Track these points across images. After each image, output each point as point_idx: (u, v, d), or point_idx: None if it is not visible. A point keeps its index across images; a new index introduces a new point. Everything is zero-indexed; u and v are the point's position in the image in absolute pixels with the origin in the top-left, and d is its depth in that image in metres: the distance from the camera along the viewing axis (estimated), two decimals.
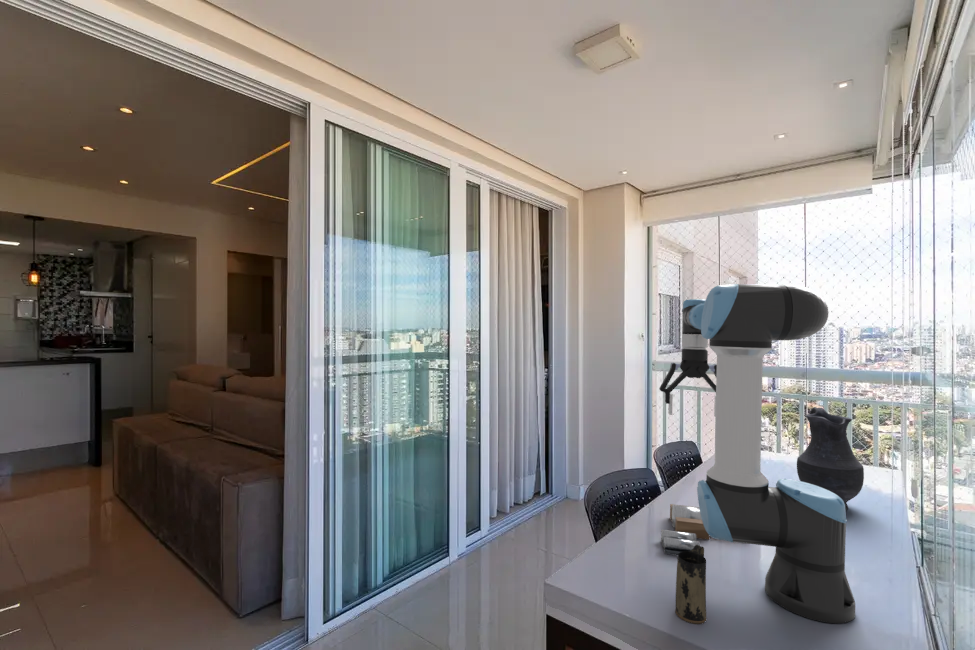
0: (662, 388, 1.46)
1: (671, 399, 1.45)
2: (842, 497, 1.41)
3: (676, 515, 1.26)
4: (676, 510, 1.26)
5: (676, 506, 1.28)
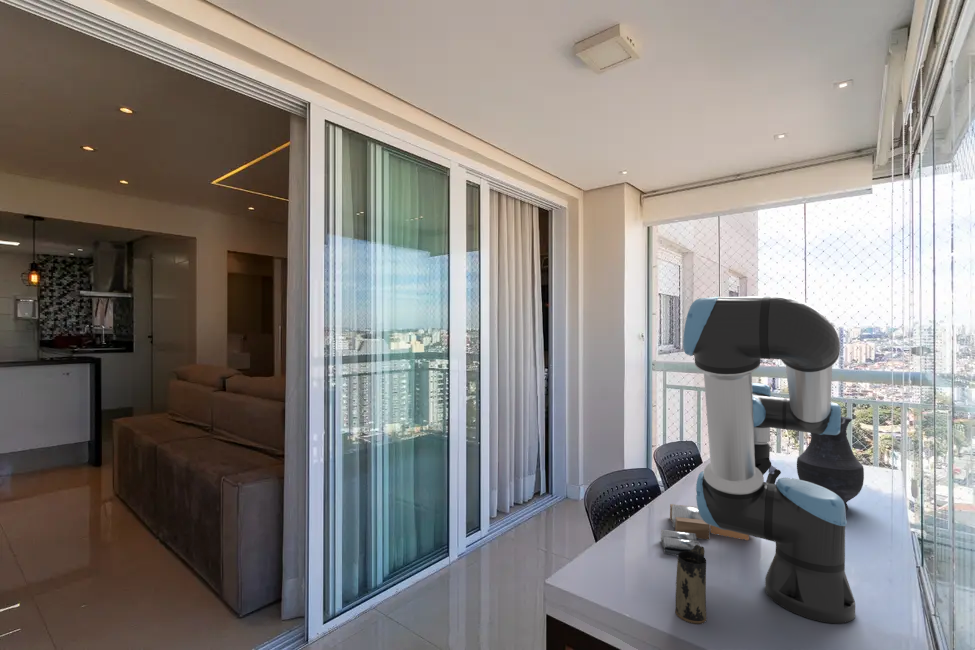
0: None
1: None
2: (842, 497, 1.41)
3: (676, 516, 1.25)
4: (676, 510, 1.26)
5: (676, 506, 1.27)
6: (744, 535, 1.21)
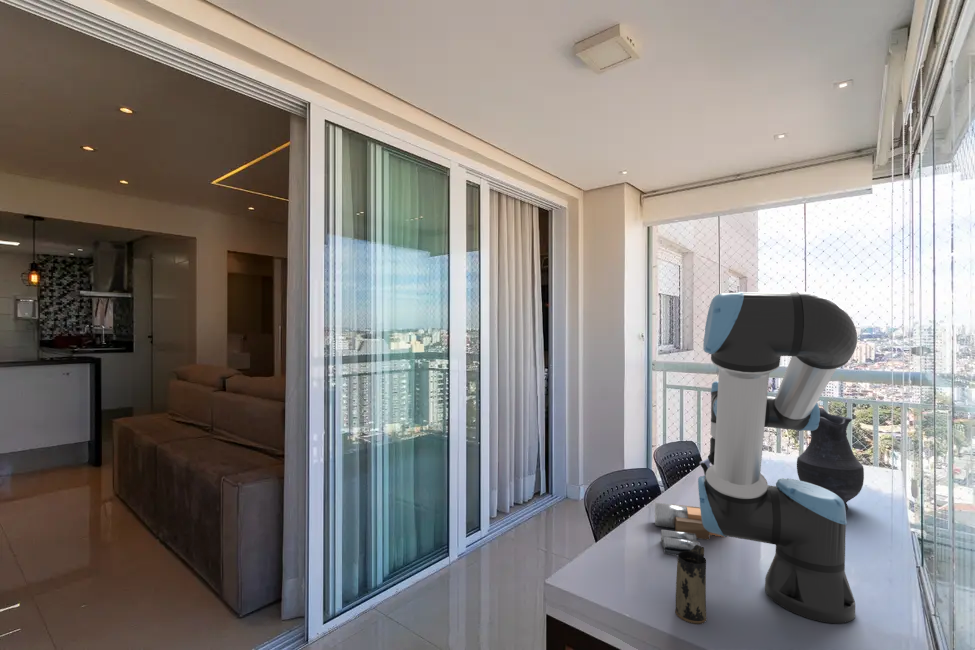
0: None
1: None
2: (842, 497, 1.41)
3: (658, 515, 1.26)
4: (658, 510, 1.27)
5: (658, 505, 1.28)
6: None
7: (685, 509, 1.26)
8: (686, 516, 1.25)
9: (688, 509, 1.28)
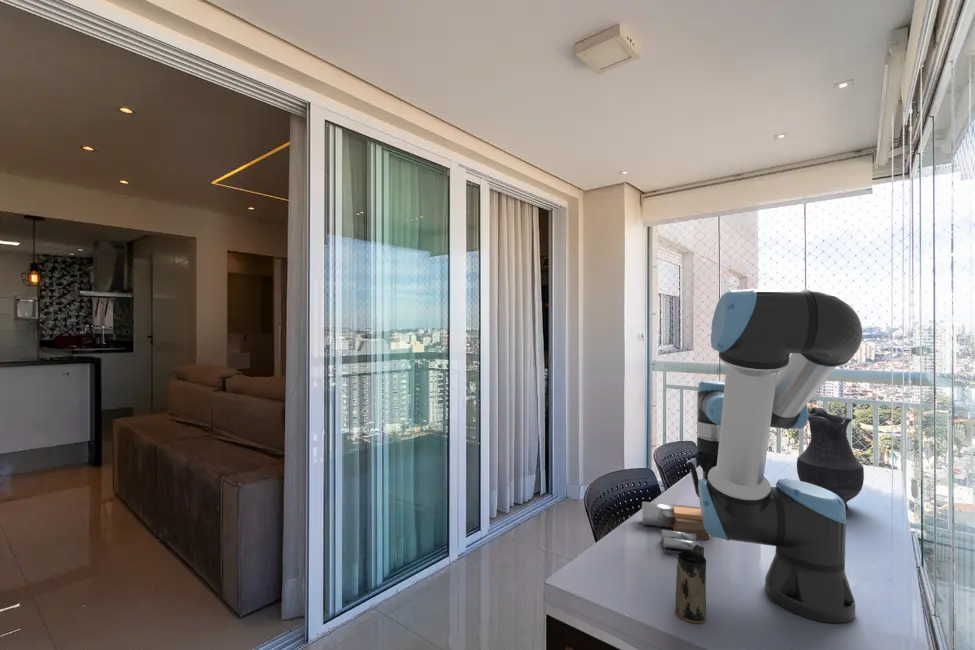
0: (699, 494, 1.26)
1: None
2: (842, 497, 1.41)
3: (645, 514, 1.27)
4: (645, 509, 1.27)
5: (645, 504, 1.29)
6: None
7: (672, 508, 1.27)
8: (673, 515, 1.25)
9: (675, 508, 1.28)
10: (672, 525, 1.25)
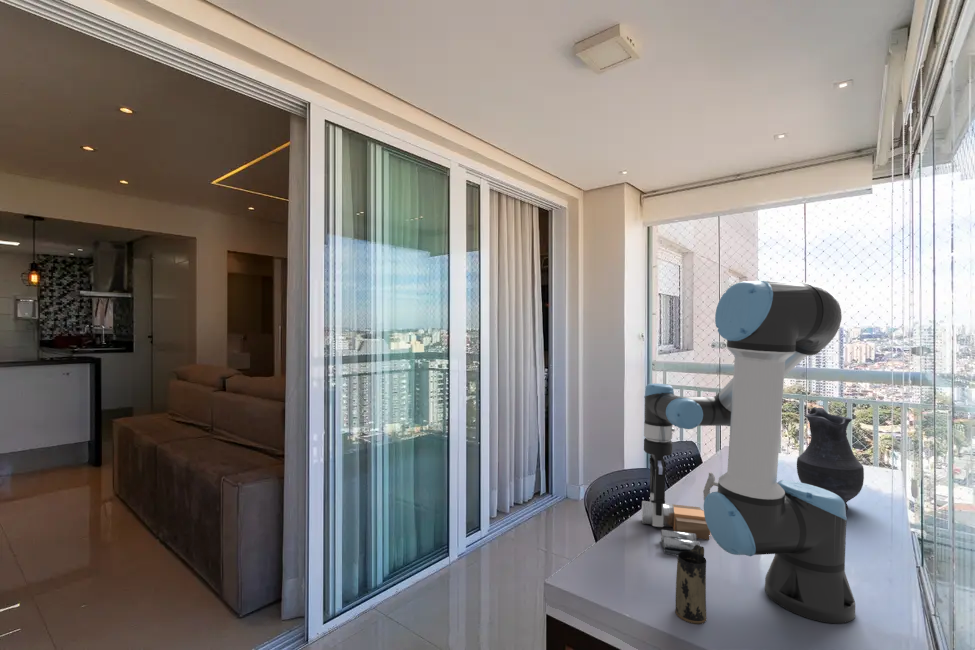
0: None
1: (650, 499, 1.33)
2: (842, 497, 1.41)
3: (644, 512, 1.28)
4: (645, 507, 1.28)
5: (645, 503, 1.30)
6: None
7: (671, 506, 1.28)
8: (672, 512, 1.26)
9: (675, 509, 1.28)
10: (672, 523, 1.26)
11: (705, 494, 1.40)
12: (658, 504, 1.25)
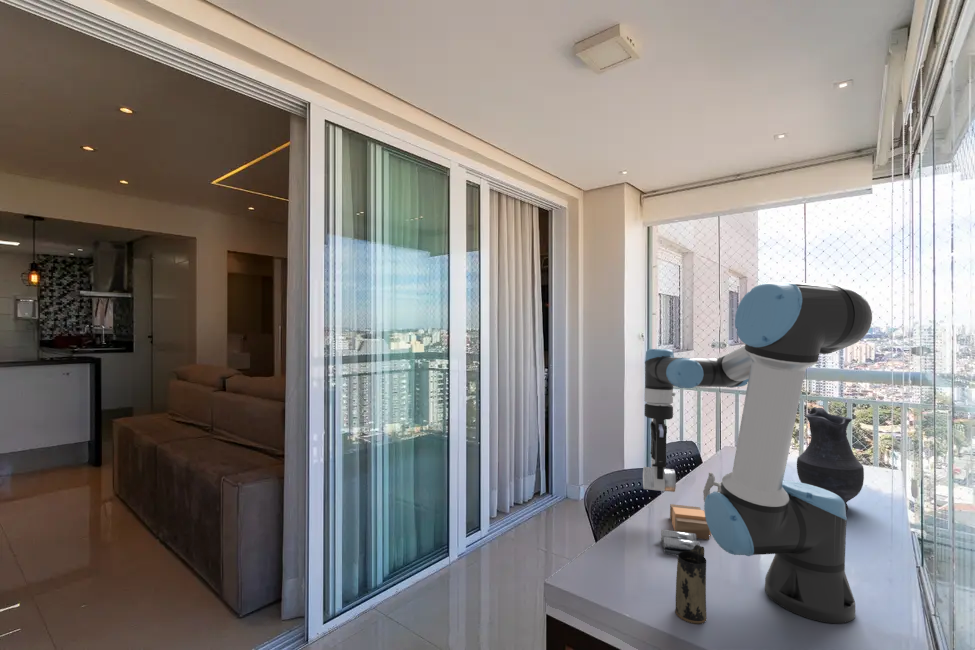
0: (651, 451, 1.35)
1: (651, 465, 1.33)
2: (842, 497, 1.41)
3: (646, 476, 1.27)
4: (646, 472, 1.28)
5: (646, 468, 1.29)
6: None
7: (672, 471, 1.27)
8: (674, 477, 1.26)
9: (675, 509, 1.28)
10: (673, 487, 1.25)
11: (705, 494, 1.40)
12: (659, 467, 1.24)
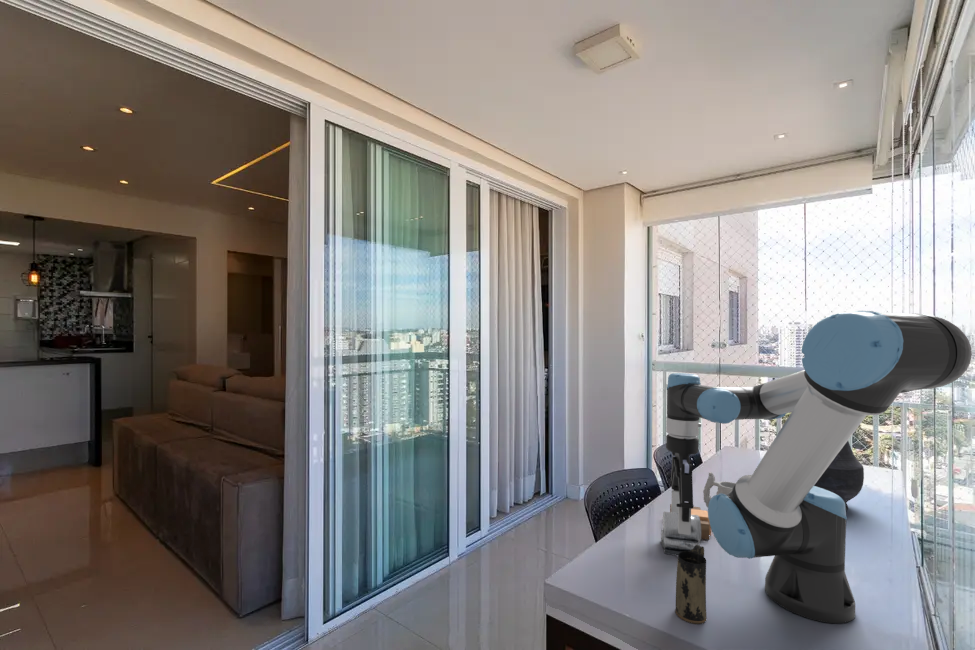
0: (670, 481, 1.23)
1: None
2: (842, 497, 1.41)
3: (667, 524, 1.13)
4: (667, 518, 1.14)
5: (667, 514, 1.15)
6: None
7: (697, 518, 1.13)
8: (699, 525, 1.12)
9: None
10: (698, 537, 1.11)
11: (705, 494, 1.40)
12: (685, 509, 1.08)
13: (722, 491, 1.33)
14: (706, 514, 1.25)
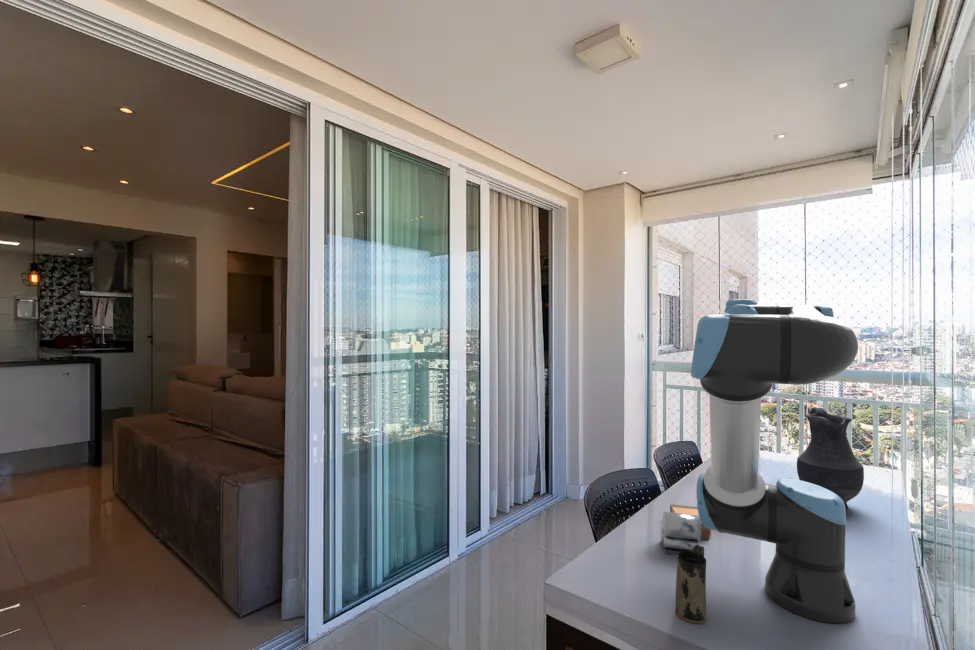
0: None
1: None
2: (842, 497, 1.41)
3: (667, 524, 1.13)
4: (667, 518, 1.14)
5: (667, 514, 1.15)
6: None
7: (697, 517, 1.13)
8: (699, 525, 1.12)
9: (675, 509, 1.28)
10: (698, 537, 1.11)
11: None
12: None
13: None
14: None
